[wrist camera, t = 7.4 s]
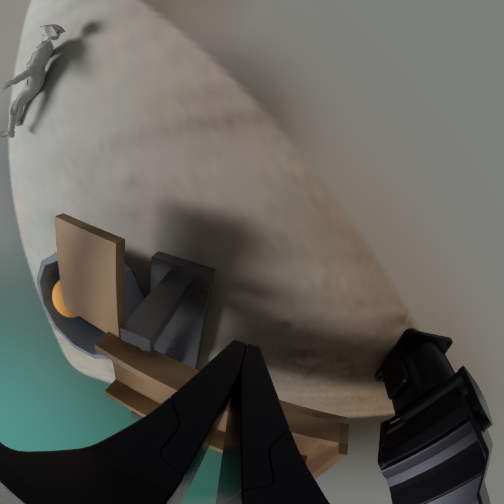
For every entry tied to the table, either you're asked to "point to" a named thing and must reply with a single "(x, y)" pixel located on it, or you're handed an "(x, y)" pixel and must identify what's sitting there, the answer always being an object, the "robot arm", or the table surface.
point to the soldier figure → (31, 78)
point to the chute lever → (153, 363)
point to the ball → (61, 301)
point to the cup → (78, 328)
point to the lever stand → (172, 310)
